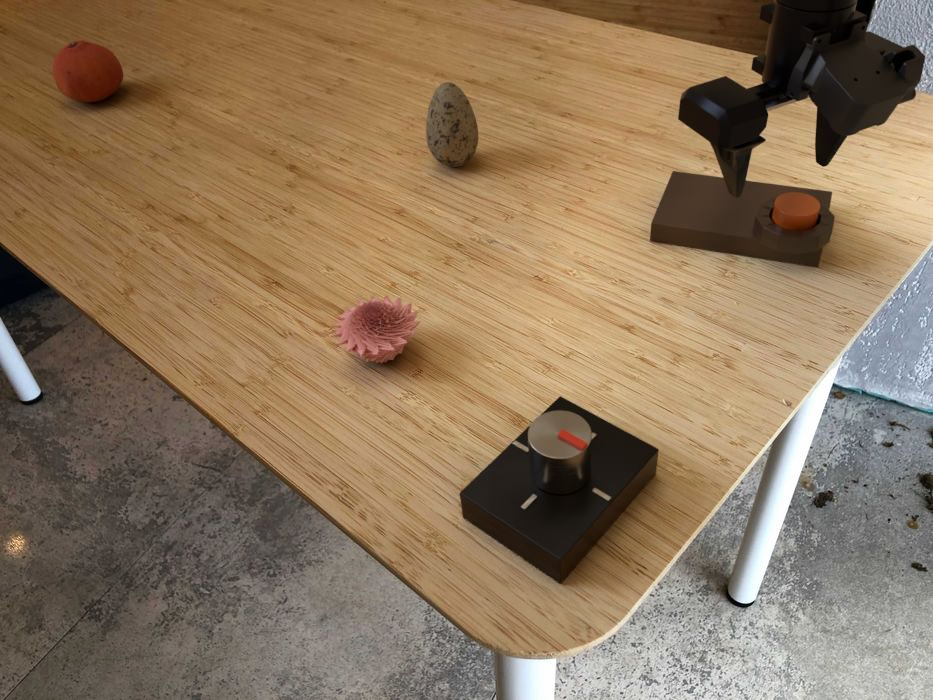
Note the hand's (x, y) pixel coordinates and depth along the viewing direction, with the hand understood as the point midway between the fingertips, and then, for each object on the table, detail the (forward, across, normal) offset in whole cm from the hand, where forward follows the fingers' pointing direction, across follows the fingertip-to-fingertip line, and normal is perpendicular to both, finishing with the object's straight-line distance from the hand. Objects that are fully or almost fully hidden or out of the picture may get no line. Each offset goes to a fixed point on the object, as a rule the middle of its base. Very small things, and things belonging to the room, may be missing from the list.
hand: (778, 179), depth 73 cm
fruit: (+12, -52, +78) cm, 95 cm away
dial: (+7, -29, -14) cm, 33 cm away
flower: (+11, -36, +8) cm, 38 cm away
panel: (+10, -29, -14) cm, 34 cm away
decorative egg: (+11, -16, +34) cm, 39 cm away
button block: (+10, +3, +7) cm, 13 cm away
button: (+7, +5, +2) cm, 8 cm away
